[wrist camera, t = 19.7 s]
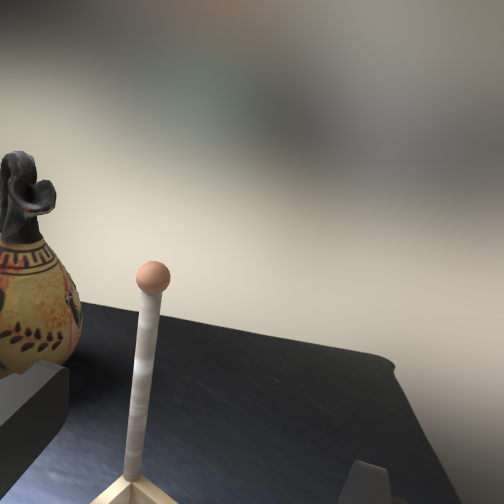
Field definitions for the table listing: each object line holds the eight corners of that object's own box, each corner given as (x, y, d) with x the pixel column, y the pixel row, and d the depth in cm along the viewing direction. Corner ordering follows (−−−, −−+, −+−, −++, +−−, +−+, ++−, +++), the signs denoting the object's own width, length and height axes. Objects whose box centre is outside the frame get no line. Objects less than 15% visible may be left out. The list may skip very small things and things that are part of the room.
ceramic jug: (97, 389, 55) (110, 176, 44) (-40, 434, 45) (-66, 172, 34) (58, 326, 66) (61, 144, 56) (-59, 351, 56) (-83, 134, 45)
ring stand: (116, 760, 26) (162, 436, 16) (0, 613, 31) (-19, 306, 21) (228, 577, 36) (297, 318, 27) (128, 492, 42) (154, 253, 32)
